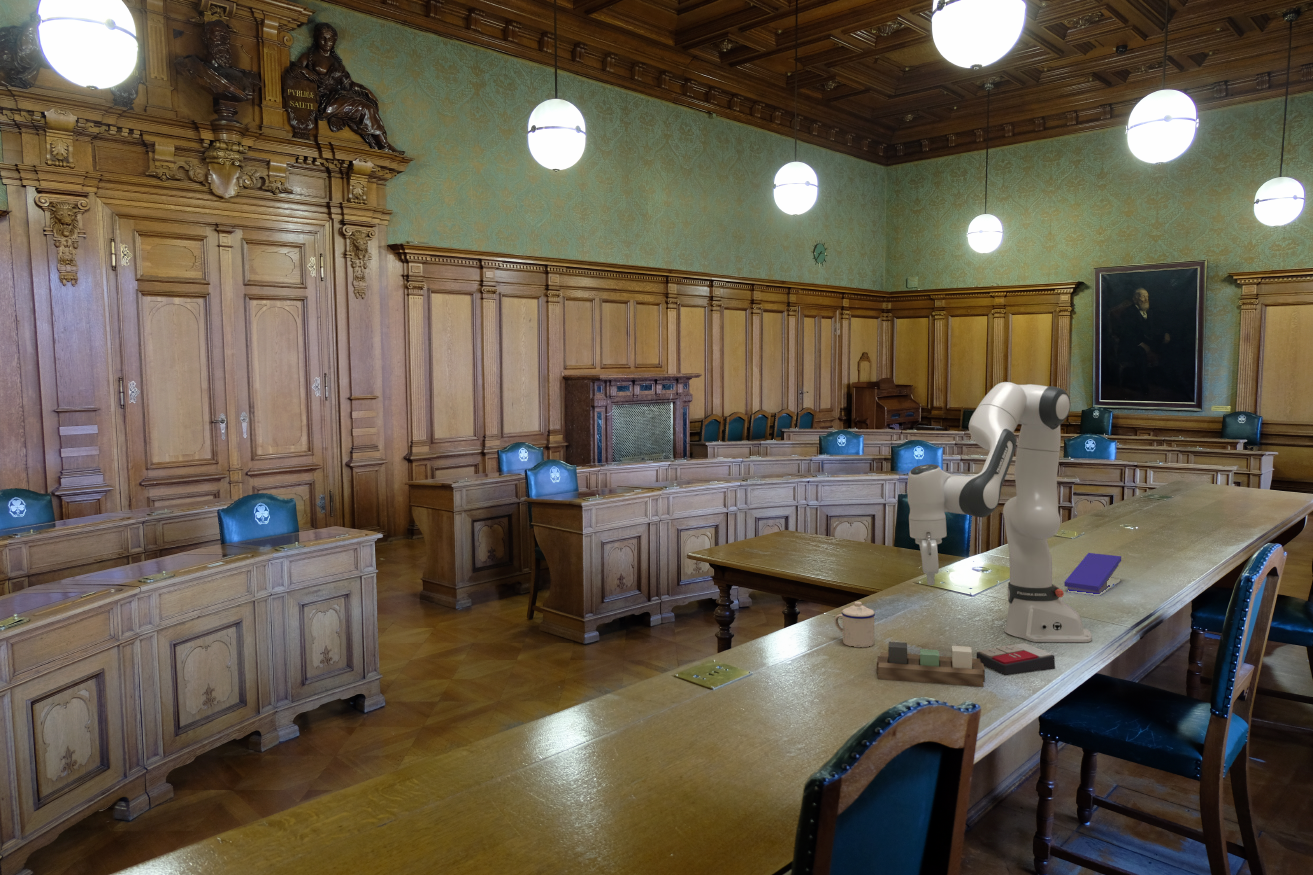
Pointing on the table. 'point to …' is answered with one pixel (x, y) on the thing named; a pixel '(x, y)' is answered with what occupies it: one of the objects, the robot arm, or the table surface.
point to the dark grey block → (897, 652)
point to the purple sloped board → (1092, 573)
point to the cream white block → (961, 657)
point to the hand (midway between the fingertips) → (930, 583)
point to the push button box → (1016, 659)
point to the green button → (929, 657)
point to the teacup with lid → (857, 625)
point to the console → (931, 671)
